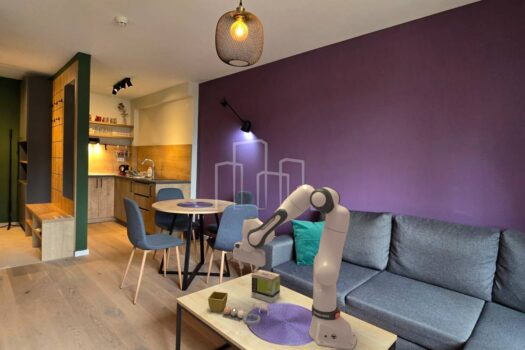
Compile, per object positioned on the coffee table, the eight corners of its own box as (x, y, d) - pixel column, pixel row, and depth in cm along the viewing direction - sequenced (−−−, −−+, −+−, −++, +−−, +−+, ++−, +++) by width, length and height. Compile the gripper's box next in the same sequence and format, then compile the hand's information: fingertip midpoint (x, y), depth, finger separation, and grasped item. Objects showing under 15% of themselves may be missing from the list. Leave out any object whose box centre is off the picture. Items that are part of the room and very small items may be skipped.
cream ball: (246, 316, 158) (246, 309, 158) (242, 320, 155) (242, 313, 155) (239, 315, 160) (239, 307, 160) (235, 318, 156) (236, 311, 156)
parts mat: (246, 317, 160) (246, 315, 160) (240, 323, 154) (240, 321, 154) (228, 312, 165) (228, 310, 165) (221, 318, 158) (221, 316, 158)
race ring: (262, 320, 157) (262, 316, 157) (255, 328, 149) (255, 324, 149) (248, 316, 161) (248, 312, 160) (240, 324, 153) (240, 320, 153)
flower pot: (222, 316, 161) (222, 299, 160) (207, 314, 162) (207, 298, 162) (227, 308, 169) (228, 292, 169) (213, 306, 171) (213, 291, 170)
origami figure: (274, 312, 166) (274, 303, 165) (267, 319, 158) (267, 310, 158) (255, 307, 171) (255, 299, 171) (247, 314, 164) (248, 305, 163)
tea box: (280, 297, 184) (280, 273, 183) (271, 304, 175) (272, 279, 174) (259, 291, 192) (260, 268, 191) (250, 297, 183) (251, 273, 182)
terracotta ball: (232, 313, 162) (232, 306, 162) (228, 316, 158) (228, 309, 158) (226, 311, 164) (226, 304, 163) (222, 315, 160) (222, 307, 160)
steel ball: (239, 315, 160) (239, 307, 160) (235, 318, 157) (235, 311, 156) (232, 313, 162) (232, 306, 162) (229, 316, 158) (229, 309, 158)
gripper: (268, 248, 163) (267, 273, 164) (238, 241, 174) (237, 264, 174) (262, 251, 157) (260, 277, 158) (231, 243, 168) (230, 267, 169)
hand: (248, 270), depth 166 cm, fingers open, 8 cm apart
